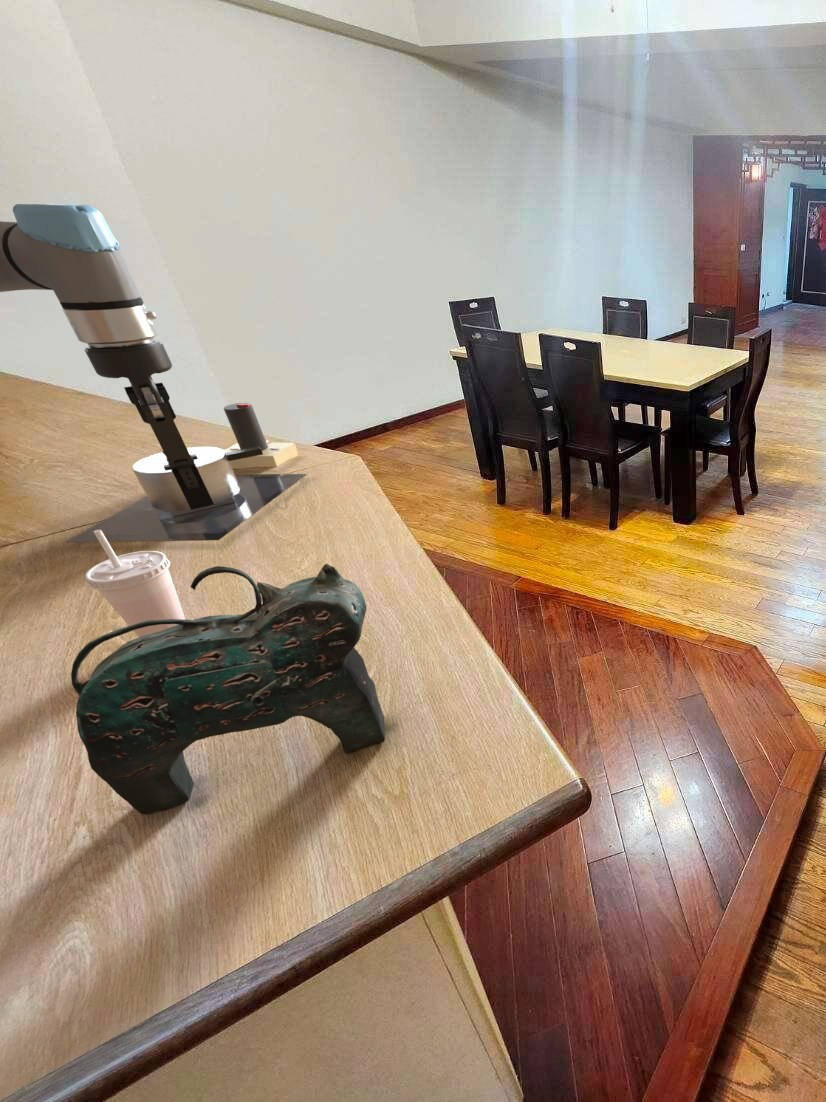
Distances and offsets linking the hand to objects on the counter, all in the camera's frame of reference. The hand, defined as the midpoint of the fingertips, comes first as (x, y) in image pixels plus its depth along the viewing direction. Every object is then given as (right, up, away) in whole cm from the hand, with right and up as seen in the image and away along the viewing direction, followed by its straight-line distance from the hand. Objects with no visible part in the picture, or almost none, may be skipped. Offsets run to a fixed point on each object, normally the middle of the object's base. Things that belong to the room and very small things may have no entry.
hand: (202, 505), depth 88 cm
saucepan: (-4, +2, +7) cm, 9 cm away
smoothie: (+16, -17, -22) cm, 32 cm away
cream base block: (-9, +10, +21) cm, 25 cm away
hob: (-5, 0, +5) cm, 7 cm away
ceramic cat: (+40, -26, -36) cm, 60 cm away
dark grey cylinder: (-9, +12, +20) cm, 25 cm away
